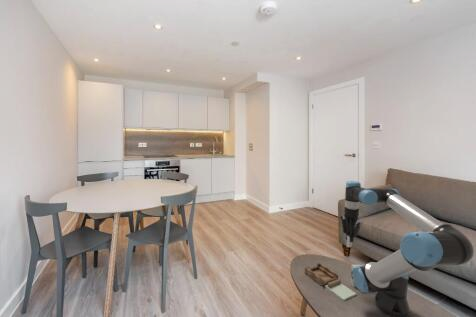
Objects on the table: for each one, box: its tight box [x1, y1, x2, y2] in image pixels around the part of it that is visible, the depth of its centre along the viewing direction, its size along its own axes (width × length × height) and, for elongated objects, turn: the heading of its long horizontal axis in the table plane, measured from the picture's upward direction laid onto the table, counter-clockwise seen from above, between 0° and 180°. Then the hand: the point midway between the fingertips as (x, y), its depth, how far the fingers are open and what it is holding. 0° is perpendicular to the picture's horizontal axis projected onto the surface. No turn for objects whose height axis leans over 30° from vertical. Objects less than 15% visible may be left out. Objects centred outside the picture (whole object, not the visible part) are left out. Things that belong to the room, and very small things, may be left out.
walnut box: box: [304, 262, 339, 288], centre depth 140 cm, size 15×13×4 cm
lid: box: [324, 278, 357, 302], centre depth 128 cm, size 13×11×4 cm
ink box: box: [349, 264, 365, 288], centre depth 133 cm, size 9×5×12 cm, turn 84°
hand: (349, 246), depth 131 cm, fingers closed
